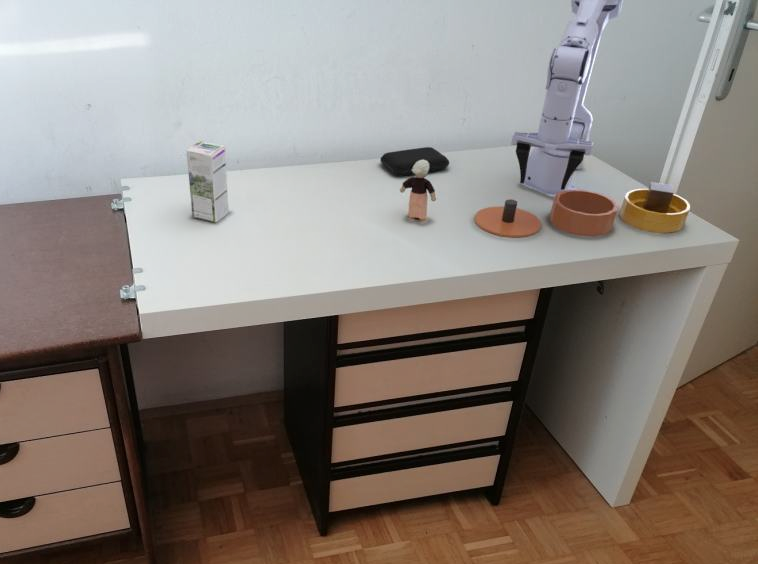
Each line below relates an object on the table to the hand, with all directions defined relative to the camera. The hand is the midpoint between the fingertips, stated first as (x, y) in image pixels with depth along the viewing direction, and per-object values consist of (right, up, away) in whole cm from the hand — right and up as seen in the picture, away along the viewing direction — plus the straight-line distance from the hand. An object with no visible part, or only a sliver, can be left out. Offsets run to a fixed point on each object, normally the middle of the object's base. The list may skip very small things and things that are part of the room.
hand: (542, 184), depth 143 cm
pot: (+9, -7, +5) cm, 13 cm away
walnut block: (+25, -6, +7) cm, 26 cm away
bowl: (+25, -6, +7) cm, 26 cm away
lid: (-6, -7, +4) cm, 10 cm away
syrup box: (-66, -5, +7) cm, 66 cm away
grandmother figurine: (-24, -6, +6) cm, 25 cm away
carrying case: (-21, +10, +29) cm, 37 cm away
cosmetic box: (+17, +11, +31) cm, 37 cm away
